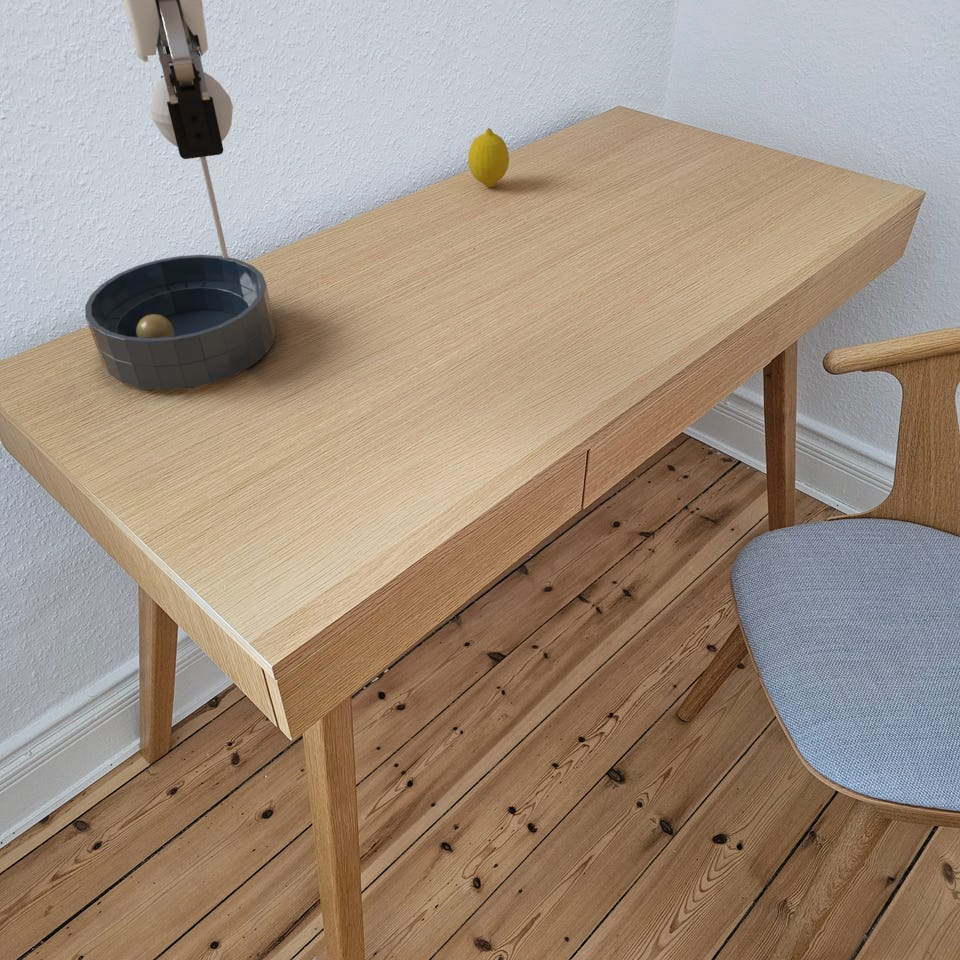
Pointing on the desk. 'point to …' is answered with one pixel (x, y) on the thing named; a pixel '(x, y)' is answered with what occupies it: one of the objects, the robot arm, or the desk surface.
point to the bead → (154, 327)
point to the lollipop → (165, 127)
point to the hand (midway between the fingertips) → (197, 138)
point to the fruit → (488, 158)
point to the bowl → (182, 321)
